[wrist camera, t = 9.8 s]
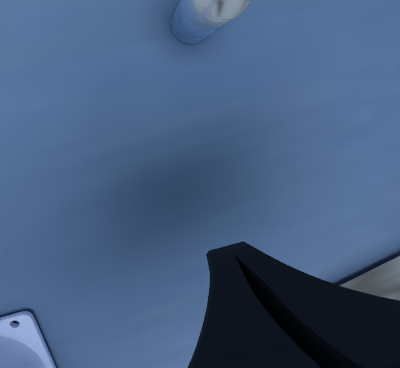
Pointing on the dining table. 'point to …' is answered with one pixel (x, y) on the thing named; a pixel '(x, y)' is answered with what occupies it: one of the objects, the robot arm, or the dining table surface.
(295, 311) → the robot arm
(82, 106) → the dining table surface
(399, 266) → the gate
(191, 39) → the latch post
